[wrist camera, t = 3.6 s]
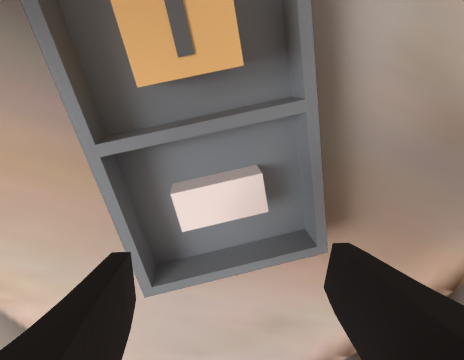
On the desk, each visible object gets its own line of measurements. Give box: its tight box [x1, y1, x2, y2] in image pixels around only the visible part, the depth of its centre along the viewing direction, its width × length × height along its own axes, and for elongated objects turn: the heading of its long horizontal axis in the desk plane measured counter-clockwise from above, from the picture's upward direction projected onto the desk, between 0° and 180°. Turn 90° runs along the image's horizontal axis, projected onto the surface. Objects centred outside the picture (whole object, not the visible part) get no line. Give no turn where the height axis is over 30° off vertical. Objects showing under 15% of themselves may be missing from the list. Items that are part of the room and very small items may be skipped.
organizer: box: [20, 0, 328, 297], centre depth 12 cm, size 11×26×2 cm, turn 11°
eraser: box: [170, 165, 268, 232], centre depth 15 cm, size 5×2×2 cm, turn 101°
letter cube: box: [110, 0, 244, 88], centre depth 11 cm, size 4×4×4 cm
